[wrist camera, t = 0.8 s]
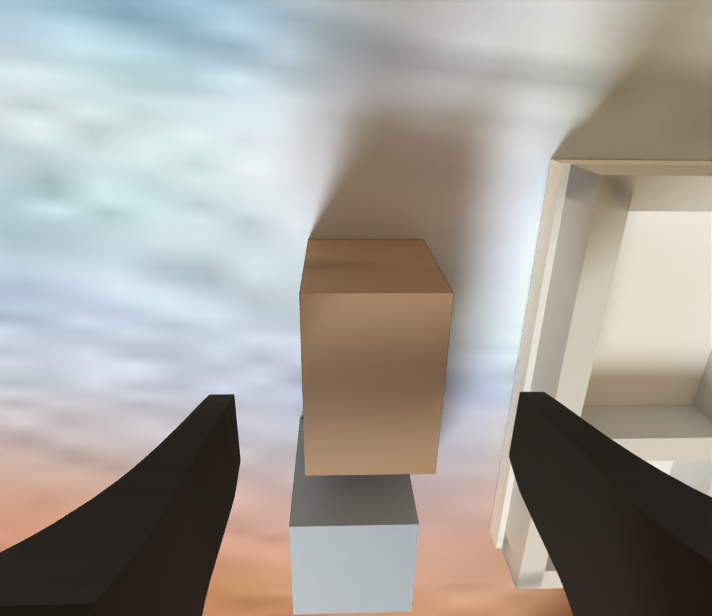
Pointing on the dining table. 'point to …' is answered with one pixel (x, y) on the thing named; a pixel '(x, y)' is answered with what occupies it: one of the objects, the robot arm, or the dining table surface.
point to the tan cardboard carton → (372, 356)
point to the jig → (617, 327)
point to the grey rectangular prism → (351, 541)
